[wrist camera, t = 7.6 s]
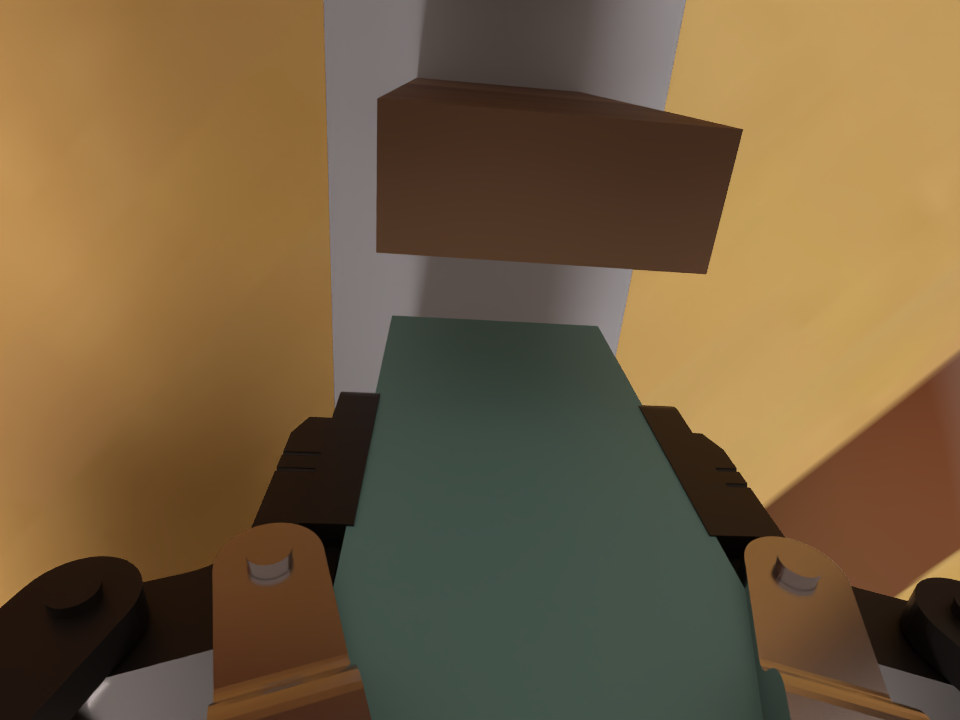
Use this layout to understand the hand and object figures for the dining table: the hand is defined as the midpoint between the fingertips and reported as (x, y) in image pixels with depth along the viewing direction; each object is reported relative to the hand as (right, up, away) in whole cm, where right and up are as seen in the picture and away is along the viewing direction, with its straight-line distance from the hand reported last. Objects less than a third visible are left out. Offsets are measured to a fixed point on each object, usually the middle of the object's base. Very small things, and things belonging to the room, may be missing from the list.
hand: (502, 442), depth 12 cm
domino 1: (0, +9, +7) cm, 11 cm away
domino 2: (0, +2, +3) cm, 3 cm away
